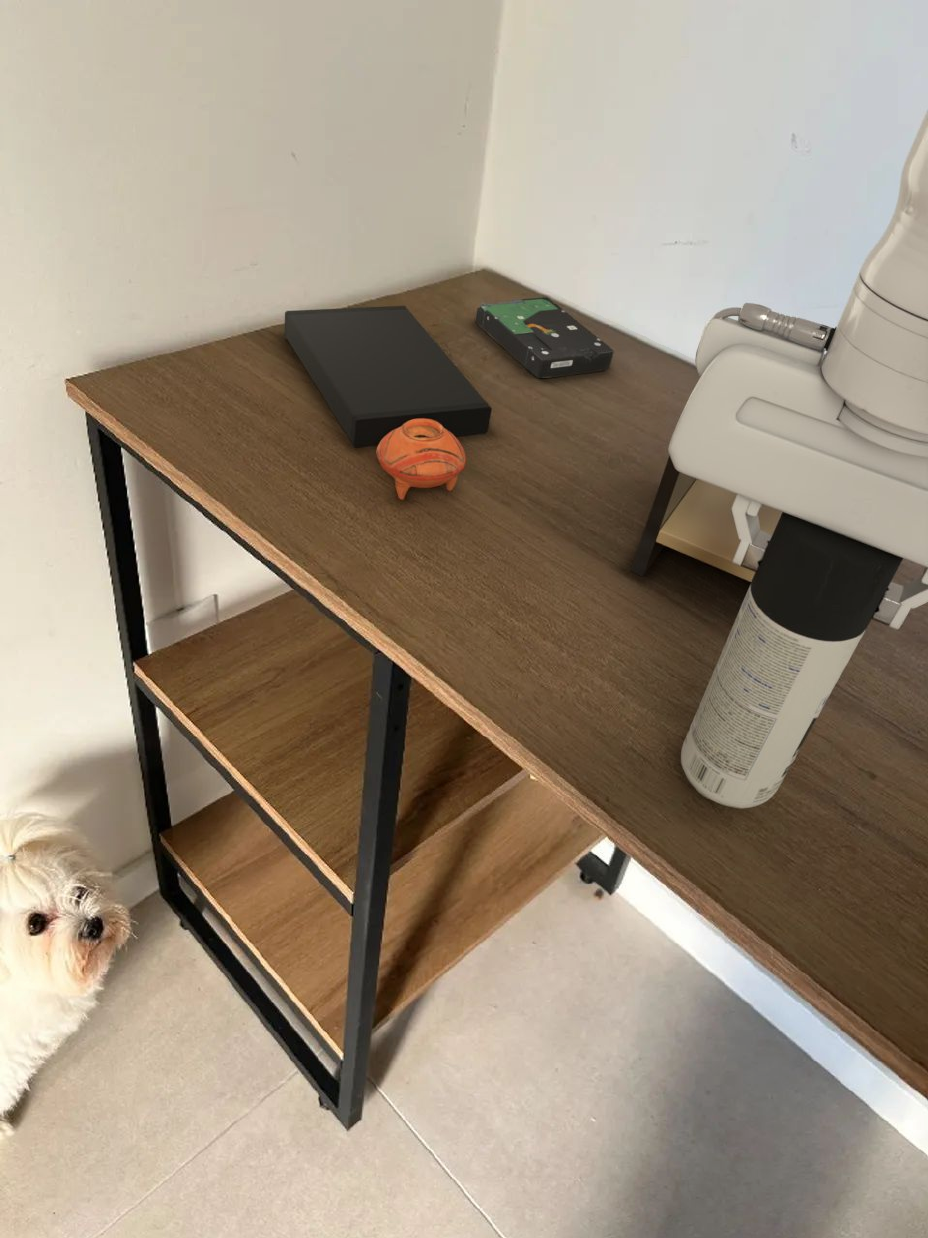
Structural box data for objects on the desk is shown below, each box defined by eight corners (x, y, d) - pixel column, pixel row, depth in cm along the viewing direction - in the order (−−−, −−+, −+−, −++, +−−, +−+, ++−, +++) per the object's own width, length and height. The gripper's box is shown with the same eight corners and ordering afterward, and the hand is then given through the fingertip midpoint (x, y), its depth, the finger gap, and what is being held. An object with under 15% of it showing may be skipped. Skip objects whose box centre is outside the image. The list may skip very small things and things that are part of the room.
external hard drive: (353, 447, 88) (355, 419, 86) (284, 336, 103) (284, 310, 101) (487, 433, 94) (492, 406, 92) (403, 329, 109) (405, 305, 107)
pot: (444, 521, 81) (436, 451, 77) (367, 507, 84) (355, 438, 80) (483, 478, 86) (478, 410, 82) (410, 466, 90) (401, 400, 85)
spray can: (787, 818, 60) (929, 574, 47) (684, 807, 59) (799, 558, 46) (764, 739, 65) (886, 500, 52) (669, 729, 64) (768, 485, 51)
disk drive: (610, 372, 109) (542, 315, 117) (616, 350, 107) (547, 294, 116) (537, 383, 104) (472, 322, 113) (542, 360, 102) (476, 300, 111)
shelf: (831, 549, 87) (903, 406, 77) (791, 642, 76) (870, 489, 66) (687, 491, 91) (739, 348, 81) (629, 571, 80) (681, 417, 70)
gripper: (696, 309, 44) (623, 545, 53) (1171, 466, 38) (998, 702, 47) (733, 273, 48) (660, 497, 57) (1163, 409, 42) (1006, 634, 51)
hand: (815, 590), depth 52 cm, fingers closed on spray can, 6 cm apart
